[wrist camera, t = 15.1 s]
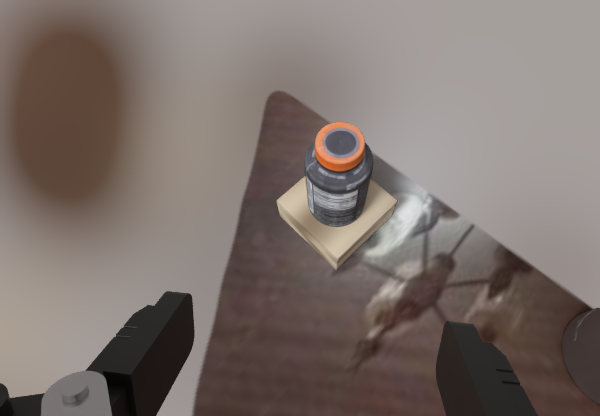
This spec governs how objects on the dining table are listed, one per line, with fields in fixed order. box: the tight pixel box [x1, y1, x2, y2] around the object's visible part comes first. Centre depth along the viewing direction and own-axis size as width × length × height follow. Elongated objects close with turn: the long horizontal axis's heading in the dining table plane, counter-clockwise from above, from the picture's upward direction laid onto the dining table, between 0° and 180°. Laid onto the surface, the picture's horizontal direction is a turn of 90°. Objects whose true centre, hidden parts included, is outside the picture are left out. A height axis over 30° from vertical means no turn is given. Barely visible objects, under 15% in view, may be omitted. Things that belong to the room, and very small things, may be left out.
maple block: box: [277, 177, 397, 270], centre depth 43 cm, size 9×9×4 cm
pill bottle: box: [305, 122, 373, 227], centre depth 36 cm, size 6×6×11 cm
